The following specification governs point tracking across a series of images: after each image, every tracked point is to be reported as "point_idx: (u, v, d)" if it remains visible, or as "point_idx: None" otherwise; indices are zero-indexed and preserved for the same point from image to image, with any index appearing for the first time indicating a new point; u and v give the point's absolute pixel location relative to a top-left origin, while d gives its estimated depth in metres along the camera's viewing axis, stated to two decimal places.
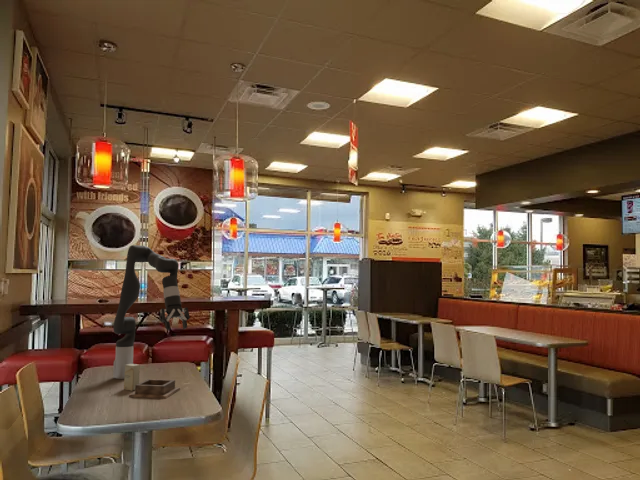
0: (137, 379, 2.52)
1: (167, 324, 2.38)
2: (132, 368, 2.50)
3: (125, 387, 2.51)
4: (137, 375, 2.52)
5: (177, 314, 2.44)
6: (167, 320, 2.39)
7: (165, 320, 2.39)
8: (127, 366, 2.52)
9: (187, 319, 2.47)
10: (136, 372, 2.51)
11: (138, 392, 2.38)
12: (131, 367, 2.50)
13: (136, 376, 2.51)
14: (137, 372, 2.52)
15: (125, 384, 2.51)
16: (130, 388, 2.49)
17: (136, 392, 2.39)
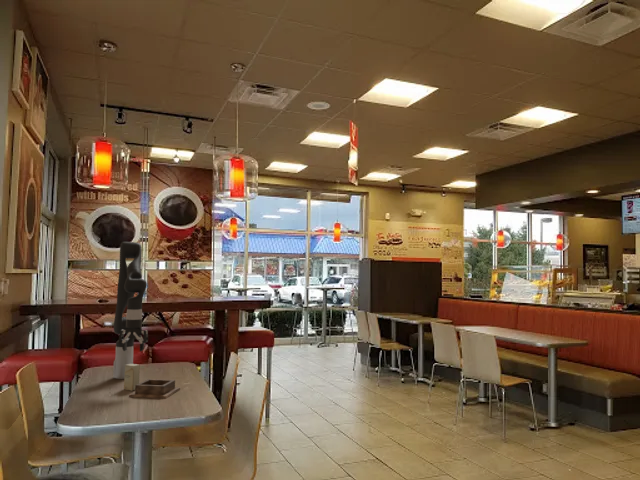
0: (137, 379, 2.52)
1: None
2: (132, 368, 2.50)
3: (125, 387, 2.51)
4: (137, 375, 2.52)
5: (134, 337, 2.53)
6: (122, 342, 2.53)
7: (121, 341, 2.54)
8: (127, 366, 2.52)
9: (144, 342, 2.53)
10: (136, 372, 2.51)
11: (138, 392, 2.38)
12: (131, 367, 2.50)
13: (136, 376, 2.51)
14: (137, 372, 2.52)
15: (125, 384, 2.51)
16: (130, 388, 2.49)
17: (136, 392, 2.39)
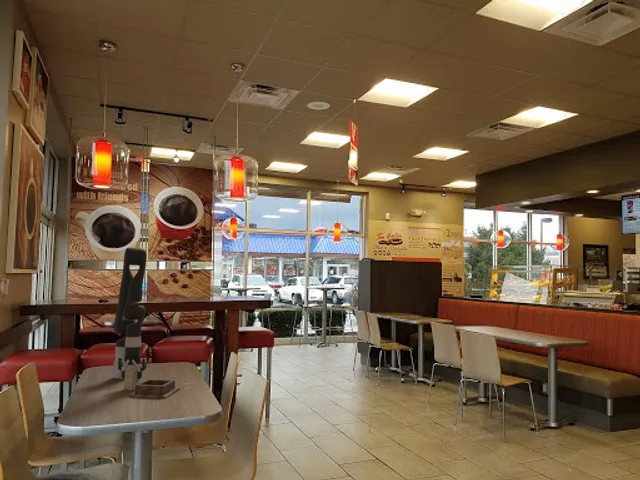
0: (137, 379, 2.52)
1: (122, 373, 2.52)
2: (132, 368, 2.50)
3: (125, 387, 2.51)
4: (137, 375, 2.52)
5: (132, 364, 2.52)
6: (122, 370, 2.52)
7: (121, 369, 2.53)
8: (127, 366, 2.52)
9: (142, 370, 2.52)
10: (136, 372, 2.51)
11: (138, 392, 2.38)
12: (131, 367, 2.50)
13: (136, 376, 2.51)
14: (137, 372, 2.52)
15: (125, 384, 2.51)
16: (130, 388, 2.49)
17: (136, 392, 2.39)
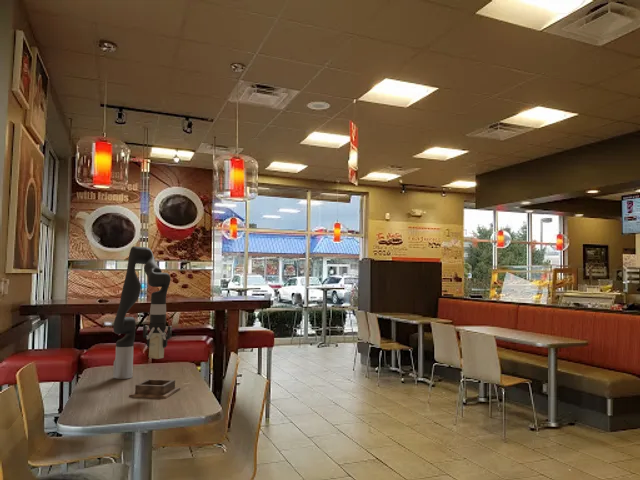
0: (162, 347, 2.46)
1: (147, 342, 2.46)
2: (158, 336, 2.44)
3: (150, 355, 2.45)
4: (162, 343, 2.46)
5: (157, 332, 2.46)
6: (147, 338, 2.46)
7: (146, 337, 2.46)
8: (152, 334, 2.45)
9: (167, 338, 2.45)
10: (161, 340, 2.45)
11: (138, 392, 2.38)
12: (156, 335, 2.44)
13: (162, 344, 2.45)
14: (162, 340, 2.45)
15: (150, 352, 2.45)
16: (155, 356, 2.43)
17: (136, 392, 2.39)
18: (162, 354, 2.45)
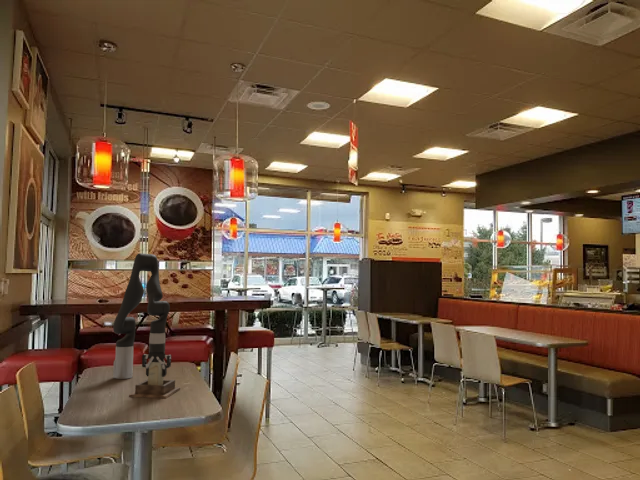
0: (161, 376, 2.45)
1: (146, 371, 2.45)
2: (157, 365, 2.43)
3: None
4: (161, 372, 2.45)
5: (157, 361, 2.45)
6: (146, 367, 2.45)
7: (145, 366, 2.46)
8: (151, 363, 2.44)
9: (166, 367, 2.45)
10: (160, 369, 2.44)
11: (138, 392, 2.38)
12: (155, 364, 2.43)
13: (161, 373, 2.44)
14: (161, 369, 2.45)
15: (149, 382, 2.44)
16: None
17: (136, 392, 2.39)
18: (161, 383, 2.45)
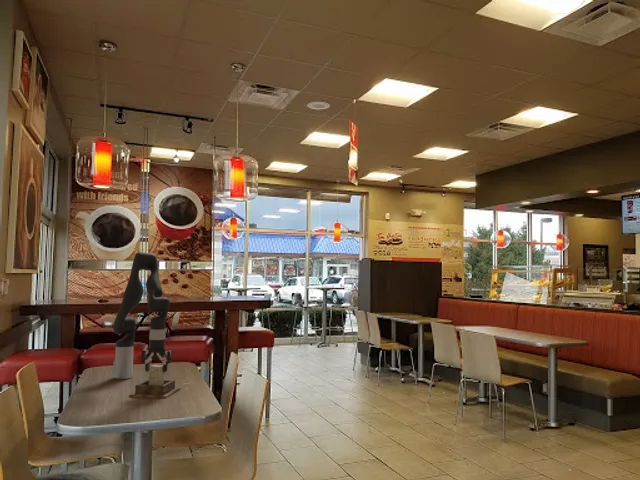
0: (162, 380, 2.45)
1: (146, 366, 2.46)
2: (157, 369, 2.43)
3: None
4: (162, 376, 2.45)
5: (157, 357, 2.45)
6: (145, 363, 2.45)
7: (144, 362, 2.46)
8: (152, 367, 2.44)
9: (167, 363, 2.45)
10: (161, 373, 2.44)
11: (138, 392, 2.38)
12: (156, 368, 2.43)
13: (161, 377, 2.44)
14: (162, 373, 2.44)
15: None
16: None
17: (136, 392, 2.39)
18: None
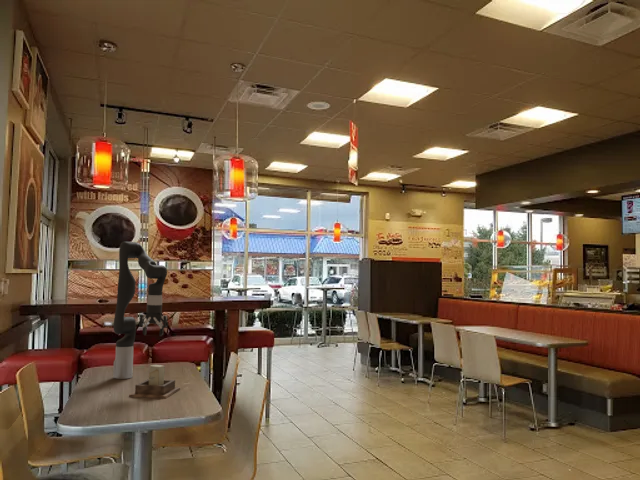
0: (162, 380, 2.45)
1: (143, 330, 2.60)
2: (157, 369, 2.43)
3: None
4: (162, 376, 2.45)
5: (154, 321, 2.59)
6: (142, 326, 2.60)
7: (142, 326, 2.60)
8: (152, 367, 2.44)
9: (163, 327, 2.59)
10: (161, 373, 2.44)
11: (138, 392, 2.38)
12: (156, 368, 2.43)
13: (161, 377, 2.44)
14: (162, 373, 2.45)
15: None
16: None
17: (136, 392, 2.39)
18: None
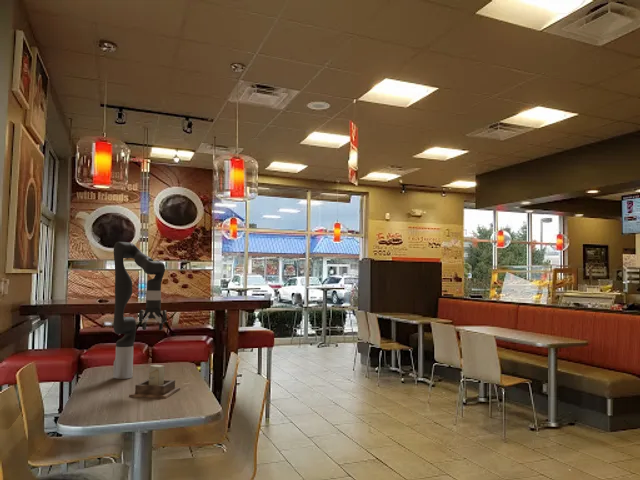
0: (162, 380, 2.45)
1: (143, 325, 2.64)
2: (157, 369, 2.43)
3: None
4: (162, 376, 2.45)
5: (153, 317, 2.64)
6: (142, 322, 2.64)
7: (141, 321, 2.65)
8: (152, 367, 2.44)
9: (163, 322, 2.64)
10: (161, 373, 2.44)
11: (138, 392, 2.38)
12: (156, 368, 2.43)
13: (161, 377, 2.44)
14: (162, 373, 2.45)
15: None
16: None
17: (136, 392, 2.39)
18: None
